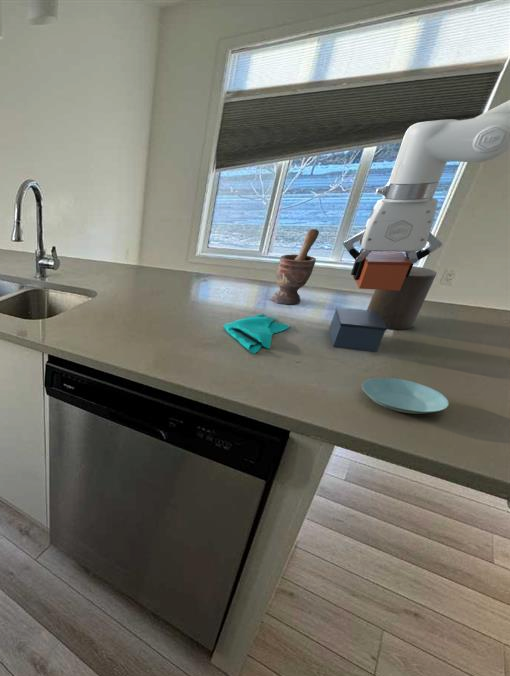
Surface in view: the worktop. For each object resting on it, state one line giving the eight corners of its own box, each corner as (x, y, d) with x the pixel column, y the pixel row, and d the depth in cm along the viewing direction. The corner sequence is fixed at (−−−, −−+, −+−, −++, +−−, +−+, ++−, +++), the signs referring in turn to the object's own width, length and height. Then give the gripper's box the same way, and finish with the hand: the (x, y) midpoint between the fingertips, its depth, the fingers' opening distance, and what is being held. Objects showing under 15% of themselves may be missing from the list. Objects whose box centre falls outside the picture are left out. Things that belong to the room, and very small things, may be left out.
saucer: (406, 427, 70) (411, 416, 68) (342, 393, 80) (346, 383, 78) (461, 414, 71) (467, 403, 70) (391, 383, 81) (396, 373, 80)
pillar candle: (374, 329, 102) (398, 270, 95) (356, 315, 110) (377, 260, 103) (421, 330, 100) (450, 269, 92) (399, 316, 108) (424, 259, 100)
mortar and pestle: (270, 292, 131) (287, 227, 121) (302, 294, 127) (323, 228, 117) (268, 303, 123) (286, 235, 113) (302, 306, 119) (324, 236, 109)
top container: (391, 279, 93) (402, 252, 90) (400, 290, 86) (412, 262, 83) (352, 277, 96) (361, 251, 93) (358, 288, 89) (368, 261, 86)
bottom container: (368, 333, 100) (378, 311, 97) (376, 352, 92) (387, 328, 89) (328, 329, 104) (335, 307, 101) (332, 347, 96) (340, 323, 93)
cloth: (243, 312, 119) (244, 305, 117) (297, 322, 110) (299, 314, 108) (203, 341, 104) (204, 333, 103) (262, 356, 95) (264, 347, 94)
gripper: (357, 196, 83) (330, 281, 92) (476, 192, 75) (434, 286, 84) (352, 192, 89) (327, 273, 97) (463, 187, 80) (425, 276, 89)
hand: (377, 278), depth 91 cm, fingers closed on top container, 6 cm apart
